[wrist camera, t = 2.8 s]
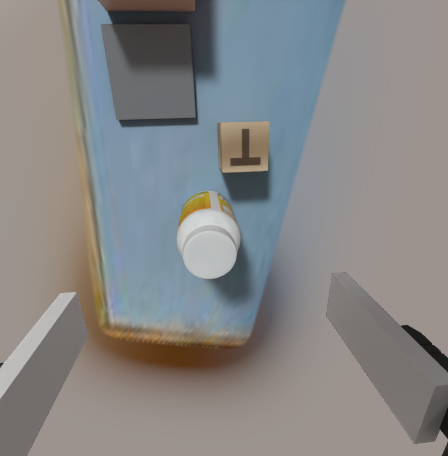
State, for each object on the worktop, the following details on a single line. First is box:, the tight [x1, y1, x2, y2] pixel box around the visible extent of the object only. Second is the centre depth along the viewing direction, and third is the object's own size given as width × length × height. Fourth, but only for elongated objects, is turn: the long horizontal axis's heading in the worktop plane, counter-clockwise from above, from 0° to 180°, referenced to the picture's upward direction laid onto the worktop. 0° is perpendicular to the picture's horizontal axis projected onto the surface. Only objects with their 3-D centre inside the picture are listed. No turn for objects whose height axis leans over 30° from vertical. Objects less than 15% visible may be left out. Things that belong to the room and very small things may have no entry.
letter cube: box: [217, 122, 270, 173], centre depth 24 cm, size 4×4×4 cm
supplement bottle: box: [177, 191, 241, 279], centre depth 24 cm, size 5×5×10 cm
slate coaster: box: [101, 24, 196, 120], centre depth 23 cm, size 7×7×1 cm
